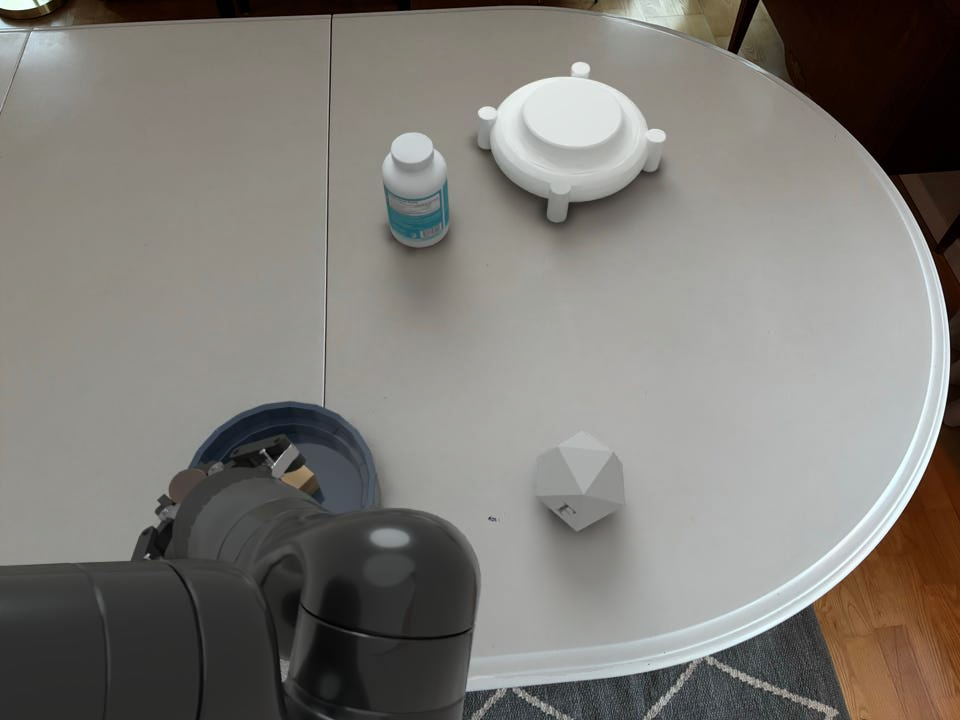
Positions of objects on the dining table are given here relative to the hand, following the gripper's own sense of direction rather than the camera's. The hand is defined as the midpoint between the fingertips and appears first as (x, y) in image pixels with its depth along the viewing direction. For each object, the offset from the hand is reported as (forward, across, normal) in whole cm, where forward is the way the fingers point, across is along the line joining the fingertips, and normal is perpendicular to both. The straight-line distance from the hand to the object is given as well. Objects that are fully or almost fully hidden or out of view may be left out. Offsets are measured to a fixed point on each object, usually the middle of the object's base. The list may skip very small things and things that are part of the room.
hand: (187, 490), depth 60 cm
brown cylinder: (+3, 0, +6) cm, 6 cm away
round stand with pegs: (+21, -64, +7) cm, 67 cm away
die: (0, -26, +28) cm, 38 cm away
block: (+15, -8, +12) cm, 21 cm away
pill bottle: (+26, -42, +2) cm, 49 cm away
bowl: (+15, -7, +13) cm, 21 cm away
